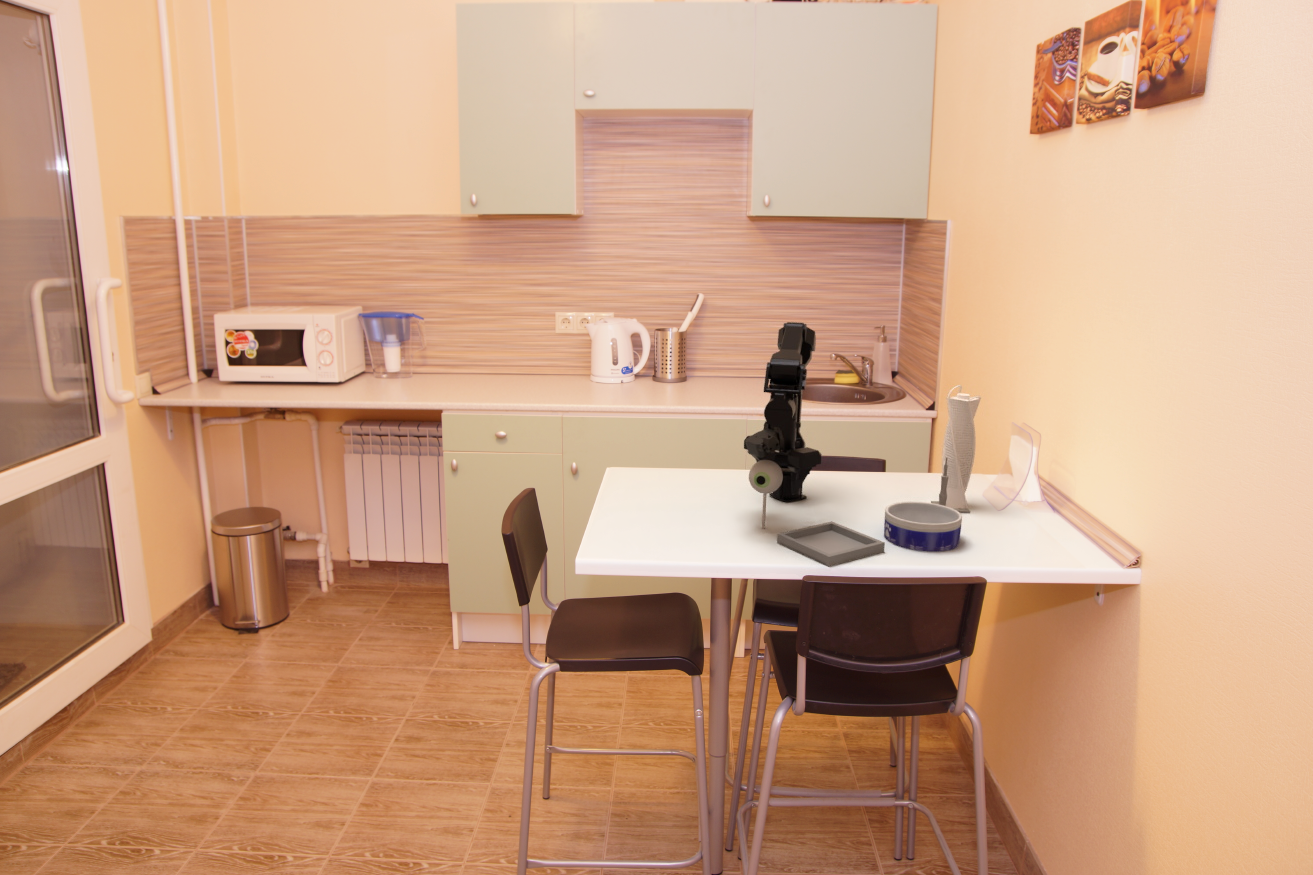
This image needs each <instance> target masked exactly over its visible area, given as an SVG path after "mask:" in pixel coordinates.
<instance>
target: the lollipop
mask: <svg viewBox="0 0 1313 875" xmlns="http://www.w3.org/2000/svg"><path fill="white" fill-rule="evenodd" d="M782 480H783V473H782V470H781V468H780V467H779V465H778V464H776V463H775V462H773V461H771V460H761V461H758V462H757V461H756V462H755V463H754V464H753V465H752V466H751V468H750V470H749V472H748V481H749V483H750V486H751V487H752V488H753V490H755V491H756V492H758V493H760V494H763V495H762V497H763V498H762V515H761V516H762V517H761V519H762V520H761V529H766V520H767V518H766V517H767V494H768V495H769V493H773V492H774V491H776V490H777V489H778V488H779V487H780V485H781V483H782Z"/></svg>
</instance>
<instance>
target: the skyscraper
mask: <svg viewBox="0 0 1313 875" xmlns="http://www.w3.org/2000/svg"><path fill="white" fill-rule="evenodd" d="M957 388H958V392H957V394H956V396H955V395H953V396H951V394H952V392H953V391H954V390H955V389H957ZM962 388H963V387H962V385H961V384H958V385H955V386H954V387H952V388H950V390H949V392H948V395H947V397H946V401H947V402H946V403H947V411H948V412H947V413H948V421H947V423H946V424H947V425H946V428H945V432H944V437H943V445H942V453H941V454H942V455H941V456H942V457H941V469H942V470H941V472H942V475H941V481H940V491H939V493H938V501H937V500H930V503H933V504H939V505H943V506H947V507H949V508H952V509H954V510H956V511H958V512H959V513H960V514H971V510H970V509H969V506H968V501H967V499H966V491H967V489H968V486H969V482H970V478H971V475H972V471H973V465H974V463H975V462H974V461H975V455H976V428H975V420H974V418H975V416H976V413H977V410H978V407H979V404H980V402H981V399H982V397H981V396H980V395H976V396H975V395H974V396H972V397H971V395H970V394H969V393H965V392H964V393H962ZM950 396H951V397H950Z"/></svg>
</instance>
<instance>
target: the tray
mask: <svg viewBox="0 0 1313 875" xmlns="http://www.w3.org/2000/svg"><path fill="white" fill-rule="evenodd" d="M776 535H777V536H776V544H778V545H781V546H782V547H784V548H787V549H789V550H791V551H793V552H795V553H797V554H800V555H802V556H805V557H806V558H809V559H811V560H813V561H815V562H817V563H819V564H821V565H824V566H826V567H832V566H836V565H841V564H844V563H848V562H852V561H855V560H859V559H864V558H867V557H871V556H874V555H879V554H882V553H885V546H886V545H885V544H886V543H885V541H882V540H879V539H877V538H875V537H872V536H870V535H866V534H864V533H862V532H860V531H857V530H855V529H852V528H849V527H847V526H845V525H843V524H839V523H837V522H834V521H827V522H824V523H818V524H816V525H815V524H814V525H810V526H805V527H802V528H801V527H800V528H796V529H791V530H788V531H784V532H779V533H777V534H776Z"/></svg>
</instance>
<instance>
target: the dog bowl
mask: <svg viewBox="0 0 1313 875" xmlns="http://www.w3.org/2000/svg"><path fill="white" fill-rule="evenodd" d="M962 521H963V516H962V513H959V512H958V511H956V510H954V509H952V508H949V507H947V506H943V505H939V504H933V503H931V502H926V501H925V502H923V501H900V502H895V503H892V504H889V505H888V506H886V507H885V510H884V522H883V524H884V527H883V528H884V529H883V532H884V533H883V536H884V539H885V540H886V541H887V542H888V543H890V544H892V545H894V546H896V547H899V548H903V549H906V550H911V551H916V552H927V553H928V552H932V553H935V552H936V553H937V552H946V551H951V550H954V549H956V548H957V547H958V546H959V544H960V538H961V532H962Z"/></svg>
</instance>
